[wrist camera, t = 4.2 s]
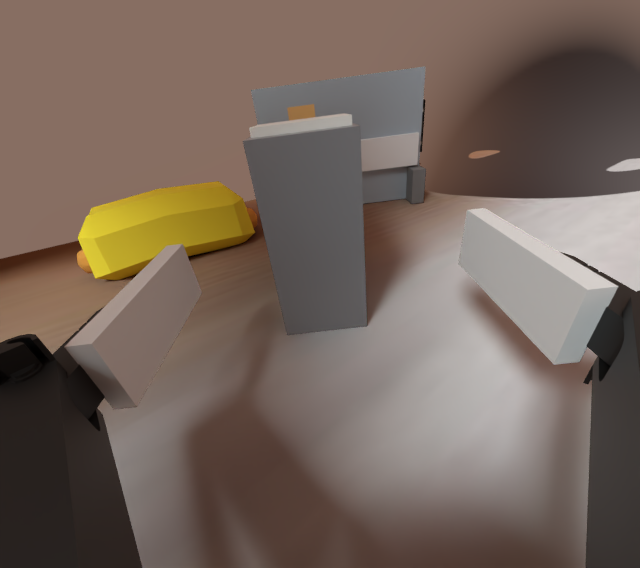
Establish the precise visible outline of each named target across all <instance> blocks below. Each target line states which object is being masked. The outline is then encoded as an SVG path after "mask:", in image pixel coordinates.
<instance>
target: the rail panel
mask: <svg viewBox="0 0 640 568" xmlns="http://www.w3.org/2000/svg"><path fill="white" fill-rule="evenodd" d="M424 80H425V67H420V68H412V69H404V70H397V71H389V72H382V73H375V74H367V75H360V76H352V77H346V78H338V79H330V80H323V81H316V82H308V83H301V84H293V85H286V86H278V87H271V88H264V89H256V90H251V92H252V97H253V102H254V107H255V113H256V118H257V123H258V125H259V124H267V123H274V122H282V121H289V117H288V110H287V108H288V107H295V106H303V105H310V104H314V108H315V117H320V116H328V115H335V114H343V113H345V114H350V115H352V123H354V124H357V125H360V133H361V162H362V191H363V204H365V203H373V202H381V201H389V200H397V199H405V198H406V199H407V200H408V201H409V202H410V203H411V204H415V203H423V202H424V189H425V176H426V169H425V168H423V167H421V166H420V165H419V157H420V143H421V127H422V112H423V96H424Z"/></svg>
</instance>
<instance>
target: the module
mask: <svg viewBox="0 0 640 568" xmlns="http://www.w3.org/2000/svg"><path fill="white" fill-rule="evenodd" d="M287 110H288V117H289V121H282V122H274V123H267V124H259V125H256V126H254V127H251V128H249V129H250V134H251V137H249V138H247V139H246V140H244V141H243V144H244V148H245V153H246V157H247V161H248V166H249V170H250V175H251V179H252V183H253V187H254V192H255V196H256V201H257V205H258V210H259V214H260V218H261V223H262V227H263V231H264V236H265V240H266V245H267V249H268V253H269V258H270V262H271V266H272V271H273V275H274V280H275V284H276V288H277V293H278V297H279V301H280V306H281V310H282V315H283V319H284V323H285V328H286V332H287V335H292V334H301V333H310V332H319V331H328V330H337V329H346V328H355V327H364V326H367V309H366V280H365V250H364V221H363V191H362V162H361V133H360V125H357V124H354V123H352V115H350V114H345V113H343V114H335V115H328V116H320V117H315V108H314V104H310V105H303V106H295V107H288V108H287Z"/></svg>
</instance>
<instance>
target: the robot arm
mask: <svg viewBox="0 0 640 568" xmlns="http://www.w3.org/2000/svg"><path fill="white" fill-rule="evenodd" d="M459 265H460V266H461V267H462V268H463V269H464V270H465V271H466V272H467V273H468V274H469V275H470V276H471V277H472V278H473V280H474V281H475V282H476V283H477V284H478V285H479V286H480V287H481V288H482V289H483V290H484V291H485V292H486V293H487V294H488V295H489V296H490V298H491V299H492V300H493V301H494V302H495V303H496V304H497V305H498V306H499V307H500V308H501V309H502V310H503V311H504V312H505V313H506V314H507V316H508V317H509V318H510V319H511V320H512V321H513V322H514V323H515V324H516V325H517V326H518V327H519V328H520V329H521V330H522V331H523V332H524V334H525V335H526V336H527V337H528V338H529V339H530V340H531V341H532V342H533V343H534V344H535V345H536V346H537V347H538V348H539V349H540V350H541V352H542V353H543V354H544V355H545V356H546V357H547V358H548V359H549V360H550V361H551V362H552V363H553V364H554V365H556V364H566V363H576V362H580V360H581V358H582V356H583V354H584V352H585V350H586V348H587V347H588V348H589V349H590V350H592V351H593V352H594V353H595V354H596V355H597V356H598V357H597V358H596V360H595V362H594V364H593V366H592V367H591V369H590V371H589V373H588V375H587V376H586V378H585V380H584V382H583V383H585V384H589V382H590V380H592V403H591V430H590V458H589V486H588V514H587V542H586V568H640V291H637V292H636V291H634V290H632V289H630V288H629V287H627V286H625V285H623V284H622V283H620V282H618V281H616V280H615V279H613V278H611V277H609V276H608V275H606V274H604V273H602V272H598V270H597V269H595V268H593V267H592V266H588V264H586V263H585V262H583V261H581V260H579V259H578V258H576V257H574V256H571V255H568V254H565V253H562V252H559V251H557V250H555V249H554V248H552V247H550V246H549V245H547V244H545V243H543V242H542V241H540V240H538V239H537V238H535V237H533V236H531V235H530V234H528V233H526V232H525V231H523V230H521V229H519V228H518V227H516V226H514V225H513V224H511V223H509V222H507V221H506V220H504V219H502V218H501V217H499V216H497V215H496V214H494V213H492V212H490V211H489V210H487V209H485V208H479V209H471V210H467V214H466V220H465V226H464V232H463V239H462V245H461V251H460V257H459ZM201 294H202V291H201V289H200V286H199V284H198V281H197V279H196V276H195V274H194V271H193V268H192V266H191V263H190V261H189V258H188V256H187V253H186V251H185V248H184V246H183V244H177V245H168V246H166V247H165V248H164V249H163V250H162V251H161V252H160V253H159V254H158V255H157V256H156V257H155V258H154V259H153V260H152V261H151V262H150V263H149V264H148V265H147V266H146V267H145V268H144V269H143V270H142V271H141V272H140V273H138V274H137V275H136V276H135V277H134V278H133V279H132V280H131V281H130V282H129V283H128V284H127V285H126V286H125V287H124V288H123V289H122V290H121V291H120V292H119V293H118V294H117V295H116V296H115V297H114V298H113V299H112V300H111V301H110V302H109V303H108V304H107V305H106V306H105V307H103V308H102V309H100V310H98V311H97V312H96V313H95V314H94V315H93V316H92V317H91V318H90V319H89V320H88V321H87V323H85V324H83V325H82V326H81V327H80V328H79V331H76V332H75V333H74V334H73V335H72V336H71V337H70V338H69V339H68V340H67V341H66V342H65V343H64V344H63V345H62V346H61V347H60V348H59V349H58V350H57V351H56V352H55V353H54V354H53V355H52V354H51V353H50V351H49V350H48V349H47V348H46V347H45V345H44V344H43V343H42V342H41V341H40V339H39V338H38V337H37V336H36V335H34V334H26V335H20V336H17V337H14V338H11V339H8V340H6V341H3V342H1V343H0V568H142V565H141V561H140V557H139V553H138V549H137V545H136V542H135V538H134V534H133V530H132V526H131V522H130V518H129V515H128V511H127V507H126V503H125V499H124V495H123V491H122V487H121V484H120V480H119V476H118V472H117V468H116V464H115V460H114V456H113V453H112V449H111V445H110V441H109V437H108V433H107V429H106V425H105V422H104V418H103V415H102V413H101V412H100V411H99V410H98V409H97V407H98V406H99V404H100V403H101V401H102V400H103V399H104V398H105V399H106V400H107V401H108V403H109V404H110V405H111V406H112V408H113V409H122V408H132V407H137V406H138V404H139V402H140V401H141V399H142V397H143V395H144V394H145V392H146V390H147V388H148V387H149V385H150V383H151V381H152V380H153V378H154V376H155V374H156V373H157V371H158V369H159V367H160V366H161V364H162V362H163V360H164V359H165V357H166V355H167V353H168V352H169V350H170V348H171V346H172V345H173V343H174V341H175V339H176V338H177V336H178V334H179V332H180V331H181V329H182V327H183V325H184V324H185V322H186V320H187V318H188V317H189V315H190V313H191V311H192V310H193V308H194V306H195V304H196V303H197V301H198V299H199V297H200V296H201Z"/></svg>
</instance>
